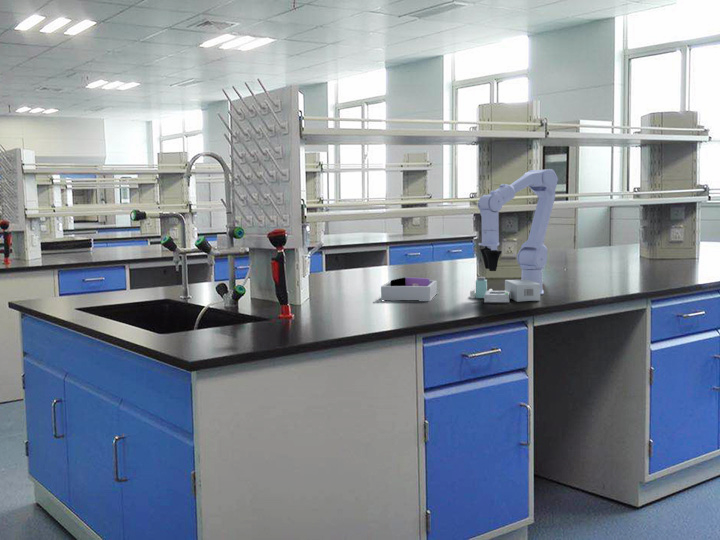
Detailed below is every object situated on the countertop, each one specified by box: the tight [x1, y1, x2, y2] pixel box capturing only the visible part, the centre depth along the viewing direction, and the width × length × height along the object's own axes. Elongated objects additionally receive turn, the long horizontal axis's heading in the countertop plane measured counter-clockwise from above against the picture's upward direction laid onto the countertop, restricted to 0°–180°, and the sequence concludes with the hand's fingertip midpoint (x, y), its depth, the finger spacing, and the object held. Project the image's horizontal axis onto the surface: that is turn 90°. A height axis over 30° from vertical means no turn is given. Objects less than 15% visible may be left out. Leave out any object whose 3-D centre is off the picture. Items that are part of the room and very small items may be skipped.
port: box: [483, 290, 511, 304], centre depth 255 cm, size 10×8×3 cm
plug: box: [475, 276, 488, 299], centre depth 265 cm, size 4×4×7 cm
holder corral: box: [380, 280, 438, 302], centre depth 269 cm, size 17×17×5 cm
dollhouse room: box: [390, 277, 430, 286], centre depth 269 cm, size 12×12×7 cm
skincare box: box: [504, 278, 541, 303], centre depth 259 cm, size 8×6×15 cm
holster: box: [469, 288, 494, 299], centre depth 265 cm, size 6×7×2 cm
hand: (490, 269), depth 260 cm, fingers open, 7 cm apart
